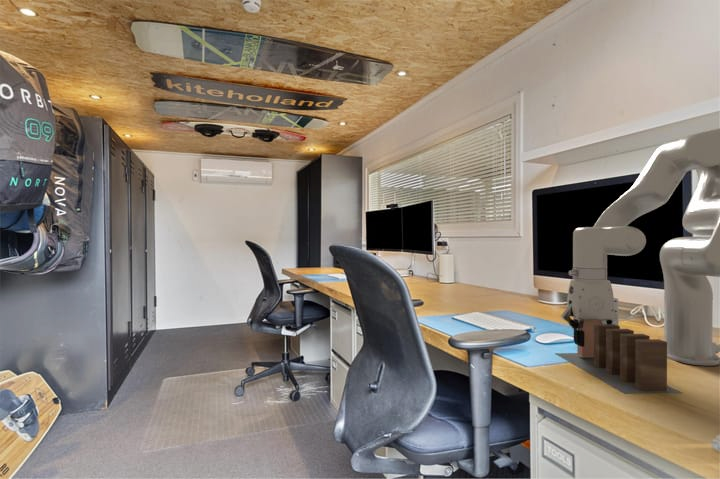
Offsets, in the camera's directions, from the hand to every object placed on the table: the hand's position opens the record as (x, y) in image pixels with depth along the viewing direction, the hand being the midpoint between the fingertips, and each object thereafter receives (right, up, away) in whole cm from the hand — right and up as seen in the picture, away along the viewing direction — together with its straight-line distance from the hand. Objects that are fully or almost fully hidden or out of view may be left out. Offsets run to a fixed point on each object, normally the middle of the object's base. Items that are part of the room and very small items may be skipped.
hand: (589, 344), depth 97 cm
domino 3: (0, -4, -11) cm, 12 cm away
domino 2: (0, -4, -7) cm, 7 cm away
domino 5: (0, -4, -20) cm, 20 cm away
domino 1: (0, -3, 0) cm, 3 cm away
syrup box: (+12, -4, +12) cm, 17 cm away
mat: (-1, -4, -9) cm, 10 cm away
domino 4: (0, -4, -15) cm, 16 cm away
